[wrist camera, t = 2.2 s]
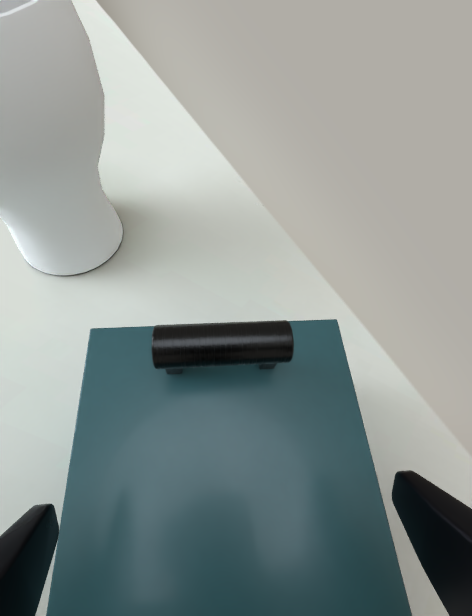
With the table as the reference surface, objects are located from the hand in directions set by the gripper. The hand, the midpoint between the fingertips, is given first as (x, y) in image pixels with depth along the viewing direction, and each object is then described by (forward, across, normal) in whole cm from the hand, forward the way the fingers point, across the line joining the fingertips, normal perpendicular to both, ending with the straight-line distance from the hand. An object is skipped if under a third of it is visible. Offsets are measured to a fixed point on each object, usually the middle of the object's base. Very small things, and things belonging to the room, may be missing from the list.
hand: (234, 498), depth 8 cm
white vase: (+21, +11, -5) cm, 24 cm away
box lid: (+4, 0, +2) cm, 5 cm away
